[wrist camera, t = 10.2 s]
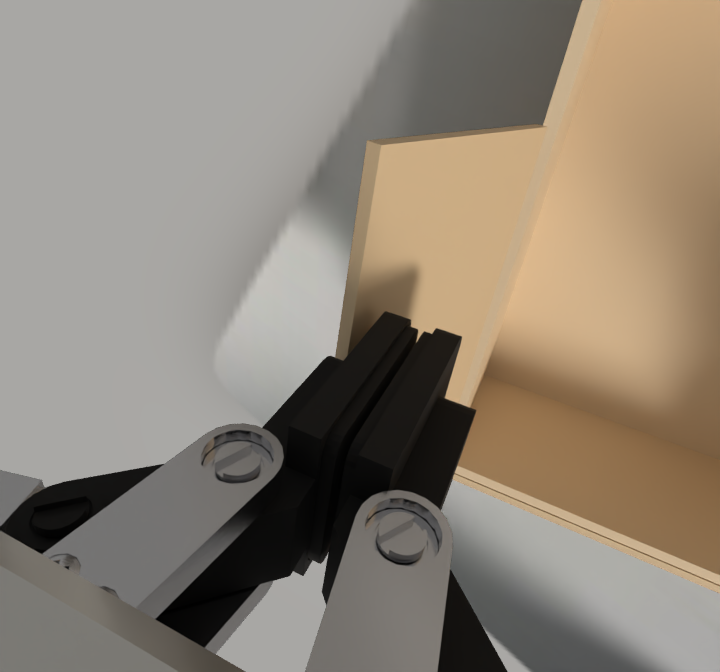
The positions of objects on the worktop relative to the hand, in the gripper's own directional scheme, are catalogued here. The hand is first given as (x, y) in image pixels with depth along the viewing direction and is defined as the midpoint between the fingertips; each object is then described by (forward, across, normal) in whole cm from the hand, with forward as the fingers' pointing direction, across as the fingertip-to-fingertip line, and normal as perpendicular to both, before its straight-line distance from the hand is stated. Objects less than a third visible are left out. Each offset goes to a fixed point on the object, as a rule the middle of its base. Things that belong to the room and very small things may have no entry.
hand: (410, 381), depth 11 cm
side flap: (+6, -1, 0) cm, 6 cm away
